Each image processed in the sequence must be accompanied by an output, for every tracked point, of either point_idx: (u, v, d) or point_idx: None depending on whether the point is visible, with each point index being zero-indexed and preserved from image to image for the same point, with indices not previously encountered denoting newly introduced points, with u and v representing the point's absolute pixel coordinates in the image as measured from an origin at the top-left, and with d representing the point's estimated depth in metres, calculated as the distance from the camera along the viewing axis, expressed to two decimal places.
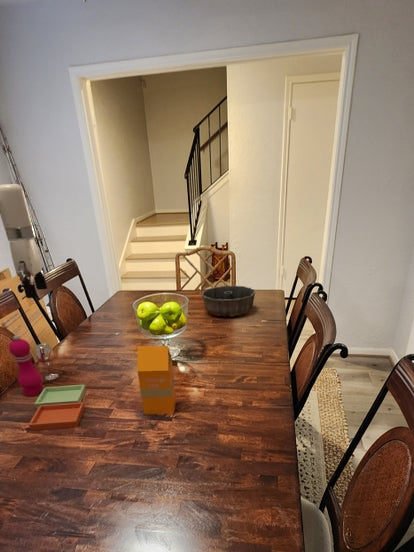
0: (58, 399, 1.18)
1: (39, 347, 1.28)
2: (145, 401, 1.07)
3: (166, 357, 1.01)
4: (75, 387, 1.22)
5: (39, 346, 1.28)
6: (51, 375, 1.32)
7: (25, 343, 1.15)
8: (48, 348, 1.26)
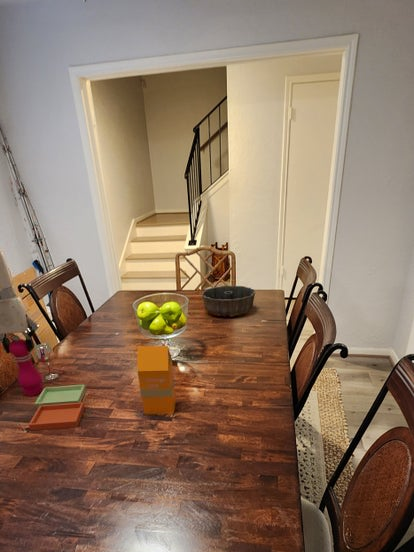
0: (58, 399, 1.18)
1: (39, 347, 1.28)
2: (145, 401, 1.07)
3: (166, 357, 1.01)
4: (75, 387, 1.22)
5: (39, 346, 1.28)
6: (51, 375, 1.32)
7: (25, 343, 1.15)
8: (48, 348, 1.26)
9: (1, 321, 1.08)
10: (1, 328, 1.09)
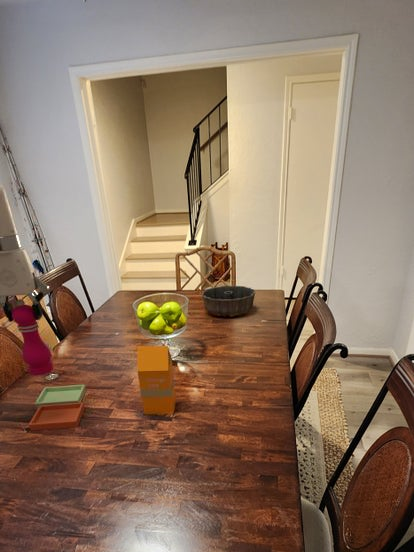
0: (58, 399, 1.18)
1: None
2: (145, 401, 1.07)
3: (166, 357, 1.01)
4: (75, 387, 1.22)
5: None
6: (51, 375, 1.32)
7: (31, 309, 0.94)
8: None
9: (2, 279, 0.87)
10: (2, 289, 0.88)
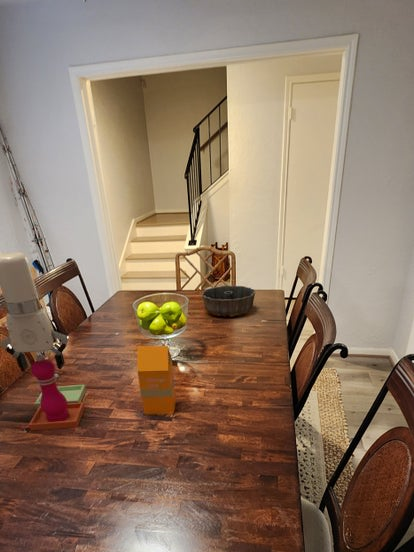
0: None
1: None
2: (145, 401, 1.07)
3: (166, 357, 1.01)
4: (75, 387, 1.22)
5: None
6: None
7: (50, 364, 1.00)
8: None
9: (23, 338, 0.93)
10: (23, 346, 0.94)
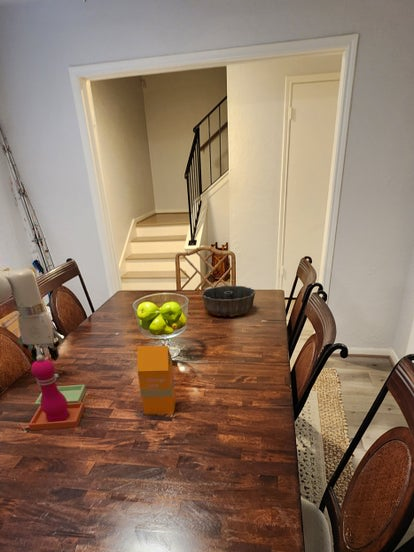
0: None
1: (39, 347, 1.28)
2: (145, 401, 1.07)
3: (166, 357, 1.01)
4: (75, 387, 1.22)
5: (39, 346, 1.28)
6: None
7: (50, 364, 1.00)
8: (48, 348, 1.26)
9: (31, 334, 1.21)
10: (31, 340, 1.22)
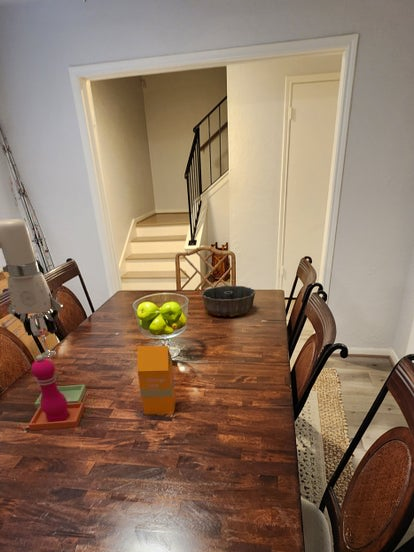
0: None
1: (33, 318, 1.09)
2: (145, 401, 1.07)
3: (166, 357, 1.01)
4: (75, 387, 1.22)
5: (33, 317, 1.08)
6: (48, 352, 1.12)
7: (50, 364, 1.00)
8: (44, 318, 1.06)
9: (23, 300, 1.01)
10: (23, 307, 1.02)
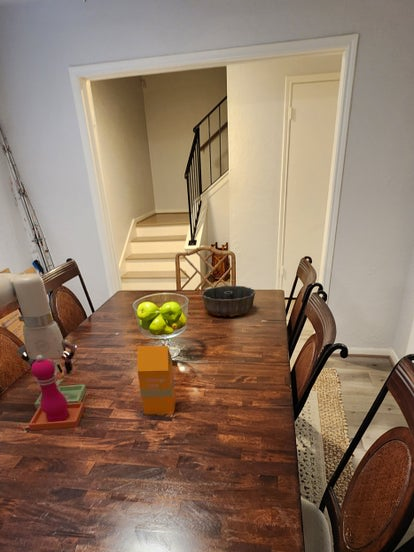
0: None
1: None
2: (145, 401, 1.07)
3: (166, 357, 1.01)
4: (75, 387, 1.22)
5: None
6: None
7: (50, 364, 1.00)
8: (58, 366, 1.12)
9: (37, 347, 1.07)
10: (37, 354, 1.08)
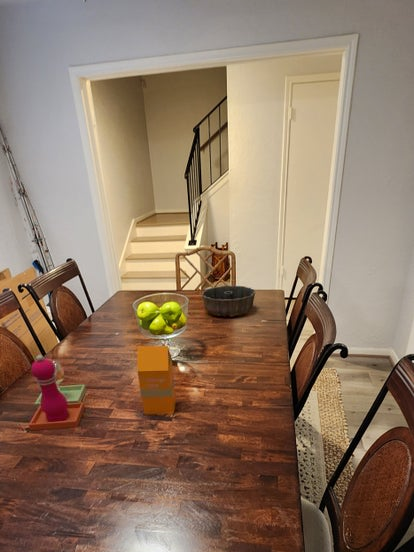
0: None
1: None
2: (145, 401, 1.07)
3: (166, 357, 1.01)
4: (75, 387, 1.22)
5: None
6: None
7: (50, 364, 1.00)
8: (58, 366, 1.12)
9: None
10: None
